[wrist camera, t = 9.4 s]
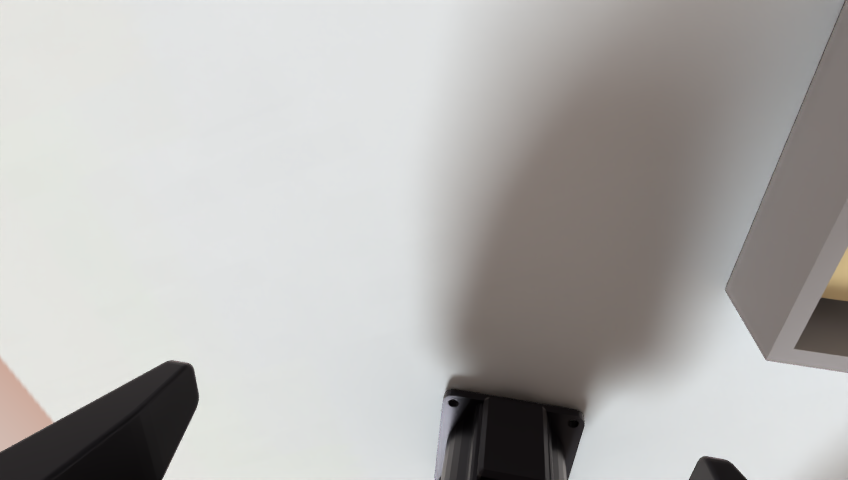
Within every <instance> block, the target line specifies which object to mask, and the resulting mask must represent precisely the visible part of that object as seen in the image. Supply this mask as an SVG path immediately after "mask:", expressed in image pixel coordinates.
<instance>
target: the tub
mask: <svg viewBox="0 0 848 480" xmlns="http://www.w3.org/2000/svg"><path fill="white" fill-rule="evenodd" d="M725 291H726V293H727V294H728V296H729V298H730V300H731V301H732V303H733V305H734V306H735V308H736V310H737V312H738V313H739V315H740V317H741V318H742V320H743V322H744V324H745V325H746V327H747V329H748V330H749V332H750V334H751V336H752V337H753V339H754V341H755V342H756V344H757V346H758V348H759V349H760V351H761V353H762V354H763V356H764V358H765V360H767V361H773V362H780V363H786V364H793V365H800V366H806V367H813V368H819V369H826V370H833V371H839V372H846V373H848V0H846V1H845V3H844V6H843V8H842V10H841V13H840V15H839V18H838V20H837V22H836V25H835V27H834V30H833V32H832V34H831V37H830V39H829V42H828V44H827V46H826V49H825V51H824V54H823V56H822V58H821V61H820V63H819V66H818V68H817V70H816V73H815V75H814V78H813V80H812V82H811V85H810V87H809V90H808V92H807V94H806V97H805V99H804V102H803V104H802V106H801V109H800V111H799V114H798V116H797V118H796V121H795V123H794V126H793V128H792V130H791V133H790V135H789V138H788V140H787V142H786V145H785V147H784V150H783V152H782V154H781V157H780V159H779V162H778V164H777V166H776V169H775V171H774V174H773V176H772V178H771V181H770V183H769V186H768V188H767V190H766V193H765V195H764V198H763V200H762V202H761V205H760V207H759V210H758V212H757V214H756V217H755V219H754V222H753V224H752V226H751V229H750V231H749V234H748V236H747V238H746V241H745V243H744V246H743V248H742V250H741V253H740V255H739V258H738V260H737V262H736V265H735V267H734V270H733V272H732V274H731V277H730V279H729V282H728V284H727V286H726V289H725Z"/></svg>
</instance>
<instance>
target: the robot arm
mask: <svg viewBox="0 0 848 480" xmlns="http://www.w3.org/2000/svg"><path fill="white" fill-rule="evenodd" d="M451 399H454V400H457V401H452V400H451ZM198 401H199V393H198V388H197V383H196V377H195V372H194V368H193V366H192V365H191V364H189V363H185V362H180V361H174V360H171V361H167V362H165V363H163V364H161V365H159V366H157V367H155V368H154V369H152V370H150V371H148V372H146V373H144V374H143V375H141V376H139V377H137V378H135V379H133V380H132V381H130V382H128V383H126V384H124V385H122V386H121V387H119V388H117V389H115V390H113V391H111V392H110V393H108V394H106V395H104V396H102V397H100V398H99V399H97V400H95V401H93V402H91V403H89V404H88V405H86V406H84V407H82V408H80V409H78V410H77V411H75V412H73V413H71V414H69V415H67V416H66V417H64V418H62V419H60V420H58V421H56V422H55V423H53V424H51V425H49V426H47V427H45V428H44V429H42V430H40V431H38V432H36V433H34V434H33V435H31V436H29V437H27V438H25V439H23V440H22V441H20V442H18V443H16V444H14V445H12V446H11V447H9V448H7V449H5V450H3V451H1V452H0V480H162V479H163V477H164V475H165V473H166V471H167V469H168V467H169V464H170V462H171V460H172V458H173V456H174V454H175V452H176V450H177V448H178V446H179V444H180V442H181V439H182V437H183V435H184V433H185V431H186V429H187V427H188V425H189V423H190V421H191V419H192V416H193V414H194V412H195V410H196V408H197V405H198ZM570 420H575V421H570ZM583 429H584V416H583V414H582V413H581V412H580V411H578V410H575V409H569V408H563V407H557V406H551V405H545V404H540V403H534V402H528V401H522V400H516V399H510V398H504V397H498V396H492V395H486V394H480V393H474V392H468V391H462V390H456V389H451V390H448V391H446V392H445V394H444V398H443V405H442V414H441V423H440V432H439V441H438V450H437V459H436V468H435V477H434V478H435V480H568V478H569V475H570V471H571V468H572V465H573V461H574V458H575V455H576V452H577V448H578V445H579V442H580V438H581V435H582V432H583ZM689 480H747V479H746V478H745V477H744V476H743V475H742V474H741V472H740V471H739V470H738V469H737V468H736V467H735V466H734V465H733V464H732V463H731V462H729V461H727V460H724V459H719V458H714V457H708V456H703V457H701V458H700V459H699V461H698V462H697V464H696V466H695V468H694V470H693V472H692V474H691V476H690V478H689Z"/></svg>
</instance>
